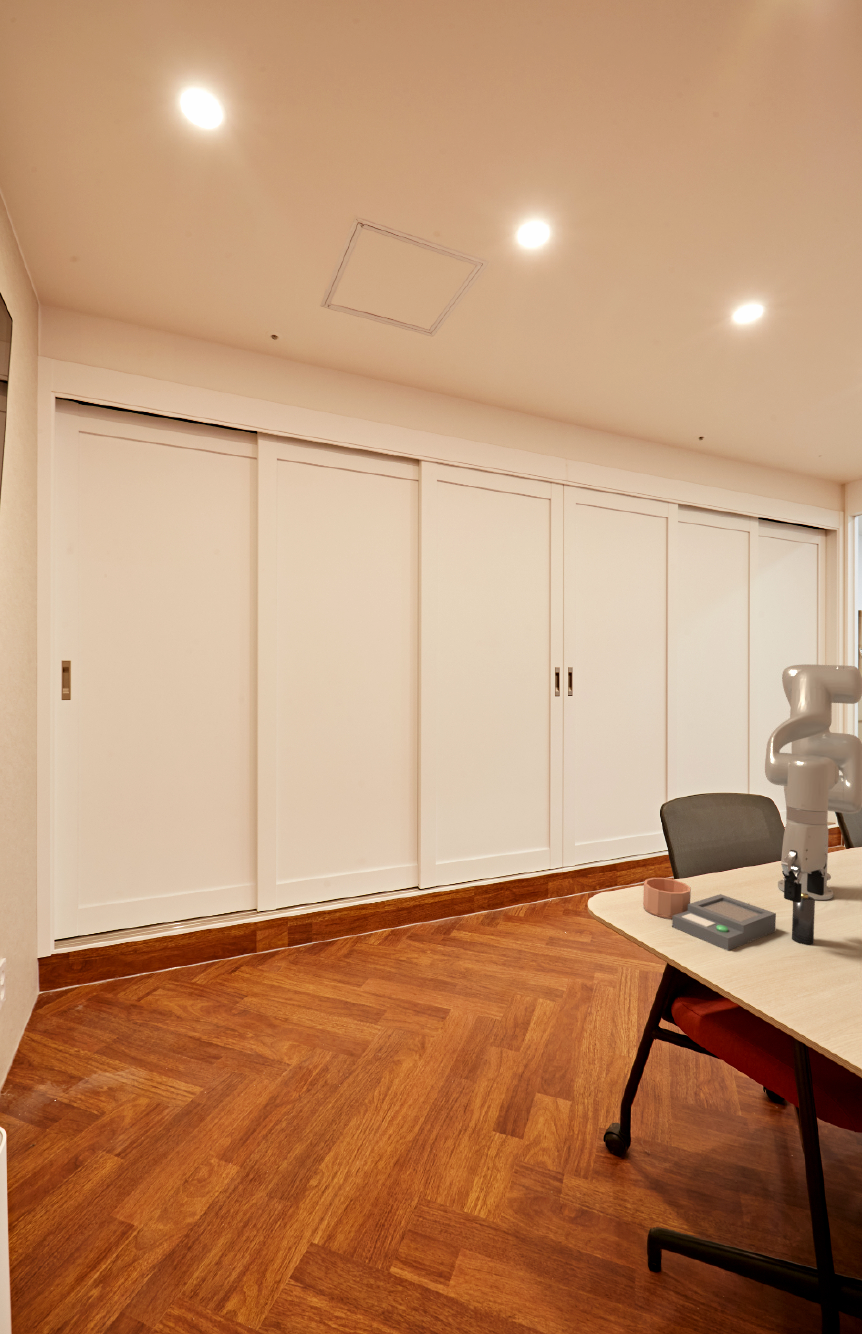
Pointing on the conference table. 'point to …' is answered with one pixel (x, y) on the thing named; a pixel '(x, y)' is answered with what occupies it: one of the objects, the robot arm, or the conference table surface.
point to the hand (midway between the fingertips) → (803, 897)
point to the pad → (731, 910)
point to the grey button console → (724, 923)
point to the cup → (665, 897)
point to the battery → (803, 920)
